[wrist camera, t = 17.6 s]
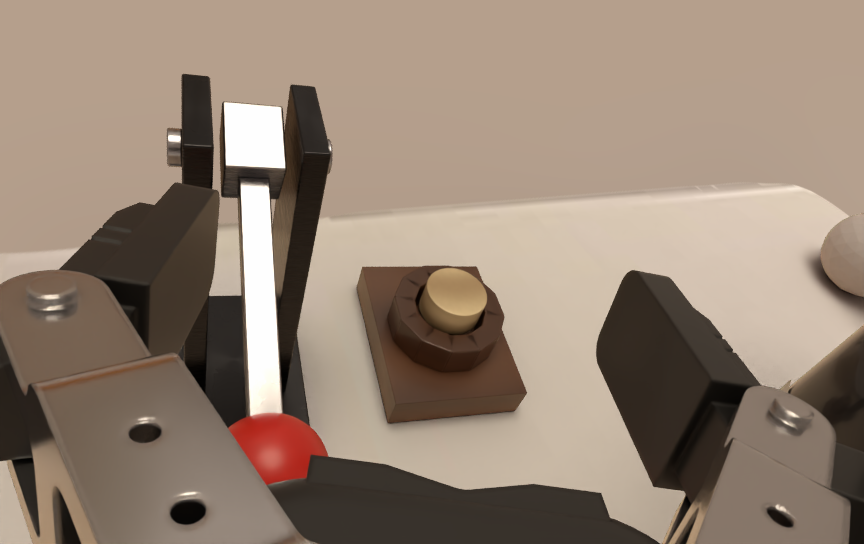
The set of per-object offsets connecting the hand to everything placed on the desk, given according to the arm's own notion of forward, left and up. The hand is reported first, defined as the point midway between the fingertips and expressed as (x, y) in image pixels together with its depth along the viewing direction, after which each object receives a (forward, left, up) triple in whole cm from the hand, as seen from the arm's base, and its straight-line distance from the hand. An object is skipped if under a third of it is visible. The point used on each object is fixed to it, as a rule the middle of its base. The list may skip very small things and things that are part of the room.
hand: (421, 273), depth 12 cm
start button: (0, -17, -18) cm, 25 cm away
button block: (0, -17, -22) cm, 28 cm away
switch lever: (+6, -5, -11) cm, 14 cm away
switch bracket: (+9, -9, -22) cm, 25 cm away
